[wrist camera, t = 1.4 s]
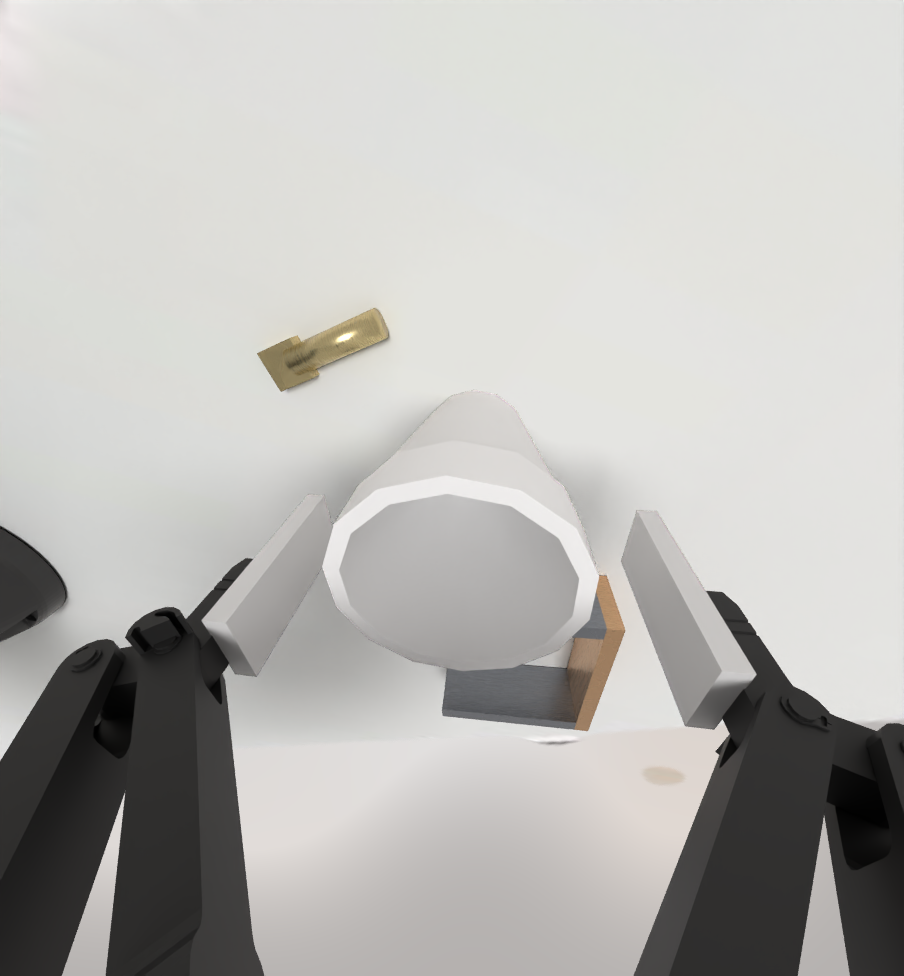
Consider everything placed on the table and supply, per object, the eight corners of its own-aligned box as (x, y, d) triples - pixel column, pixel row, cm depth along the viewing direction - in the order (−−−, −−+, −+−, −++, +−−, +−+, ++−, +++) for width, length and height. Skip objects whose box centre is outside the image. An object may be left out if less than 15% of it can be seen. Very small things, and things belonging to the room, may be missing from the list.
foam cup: (542, 498, 25) (576, 679, 14) (414, 497, 26) (356, 663, 15) (554, 359, 20) (621, 475, 9) (396, 365, 21) (289, 475, 10)
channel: (448, 665, 38) (442, 715, 33) (443, 566, 30) (434, 616, 26) (577, 676, 36) (587, 731, 32) (606, 576, 28) (625, 630, 24)
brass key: (288, 387, 23) (275, 394, 21) (266, 350, 22) (251, 355, 20) (394, 342, 21) (386, 347, 19) (374, 298, 20) (365, 301, 18)
